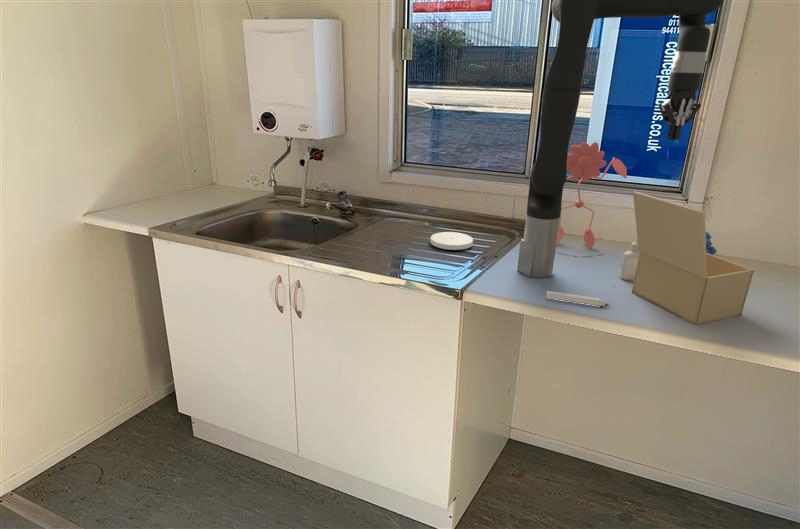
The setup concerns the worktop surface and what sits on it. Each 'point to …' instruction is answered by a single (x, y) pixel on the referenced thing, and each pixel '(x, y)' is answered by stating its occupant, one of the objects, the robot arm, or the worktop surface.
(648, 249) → the lid flap
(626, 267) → the eye dropper bottle
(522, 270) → the robot arm
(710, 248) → the grapes
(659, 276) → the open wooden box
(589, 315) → the worktop surface
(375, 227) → the worktop surface
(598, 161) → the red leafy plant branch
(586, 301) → the marker
